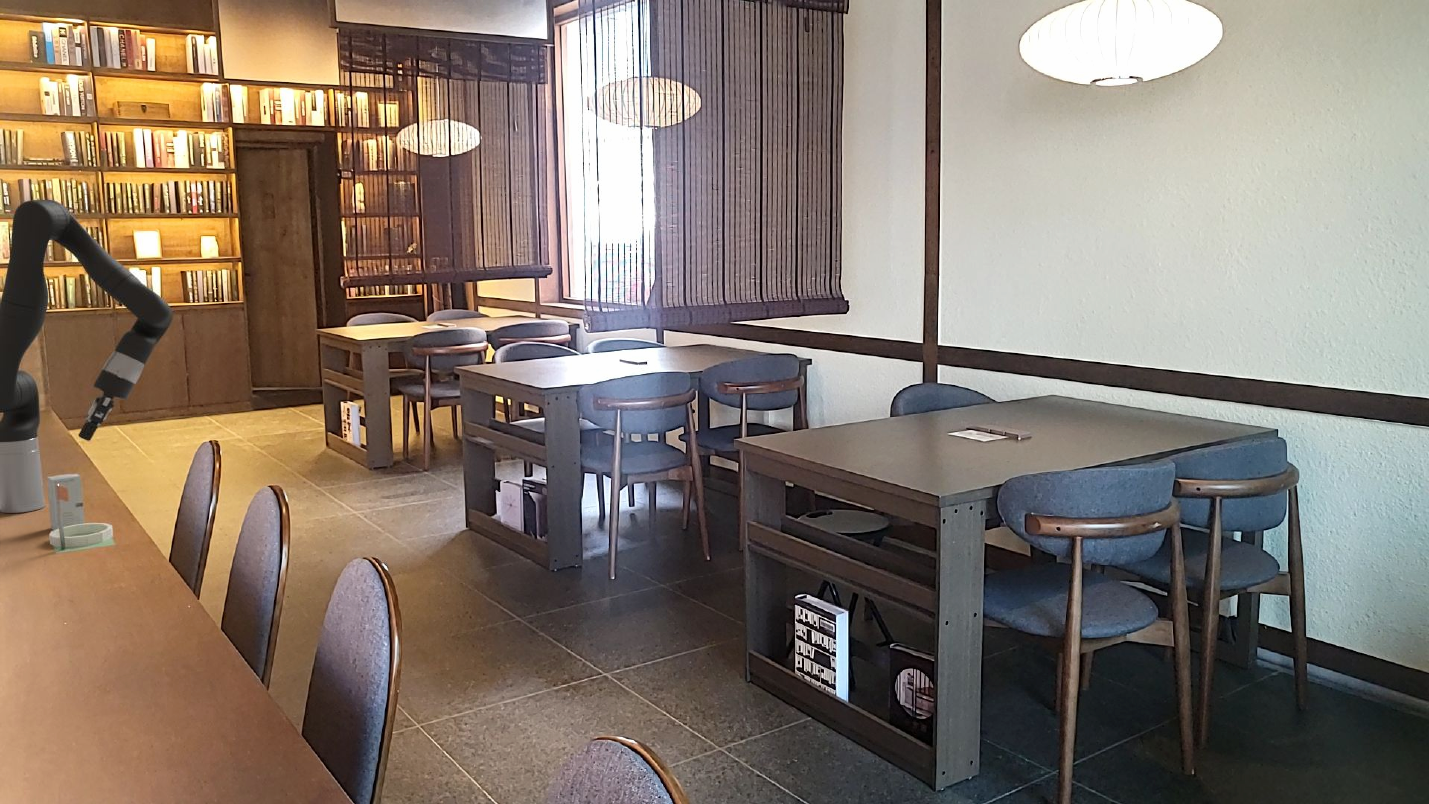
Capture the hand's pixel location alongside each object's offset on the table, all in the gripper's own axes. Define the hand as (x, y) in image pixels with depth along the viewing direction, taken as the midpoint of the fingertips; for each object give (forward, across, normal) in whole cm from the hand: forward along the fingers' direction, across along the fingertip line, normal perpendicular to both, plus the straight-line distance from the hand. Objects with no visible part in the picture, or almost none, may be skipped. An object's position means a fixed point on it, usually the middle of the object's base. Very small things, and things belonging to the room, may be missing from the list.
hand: (83, 438), depth 251 cm
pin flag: (+22, +23, +7) cm, 33 cm away
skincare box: (+20, +1, +6) cm, 21 cm away
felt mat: (+20, +14, +9) cm, 26 cm away
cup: (+19, +15, +9) cm, 26 cm away
